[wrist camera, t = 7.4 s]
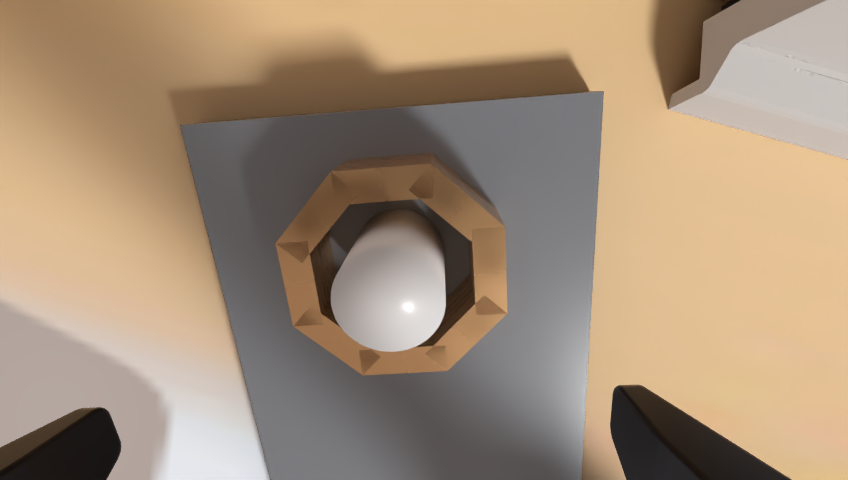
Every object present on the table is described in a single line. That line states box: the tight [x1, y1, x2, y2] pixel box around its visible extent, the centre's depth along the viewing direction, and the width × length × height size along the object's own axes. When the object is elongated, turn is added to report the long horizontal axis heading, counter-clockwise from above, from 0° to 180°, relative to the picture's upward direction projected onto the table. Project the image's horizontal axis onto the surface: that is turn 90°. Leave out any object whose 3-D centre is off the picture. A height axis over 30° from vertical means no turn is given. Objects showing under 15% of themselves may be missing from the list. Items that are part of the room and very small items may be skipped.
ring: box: [275, 152, 507, 375], centre depth 14 cm, size 7×7×2 cm
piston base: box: [180, 91, 604, 480], centre depth 16 cm, size 24×14×5 cm, turn 4°
